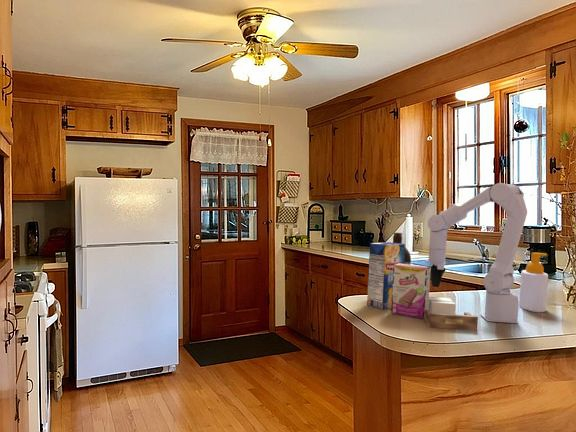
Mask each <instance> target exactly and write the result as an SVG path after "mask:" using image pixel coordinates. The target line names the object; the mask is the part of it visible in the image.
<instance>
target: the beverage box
mask: <svg viewBox="0 0 576 432" xmlns="http://www.w3.org/2000/svg"><path fill="white" fill-rule="evenodd" d="M405 245H406V244H405V243H402V244H399V243H393V242H392V241H391V242H390V241H387V242H370V243H369V255H368V256H369V258H368V274H367V275H368V277H367V300H366V305H367V306H368V307H372V308H376V309H379V310H387V309H391V305H392V288H393V270H394V265H395V264H398V263H400V264H404V252H405V248H406V246H405Z"/></svg>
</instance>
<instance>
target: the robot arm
mask: <svg viewBox="0 0 576 432" xmlns="http://www.w3.org/2000/svg"><path fill="white" fill-rule="evenodd" d="M524 194H525V193H524V192H523V191H522V189H521V188H520V187H519V186H518V185H516V184H512V183H510V184H508V183H503V182H498V183H495V184H493V185H492V186H489V187H487V188H486V189H484V190H483V191H481V192H479V194H477V195H475V196H474V197H472V198H470V199H469V200H467V201H466V202H464V203H463V204H461V203H460V204H459V203H452V204H450V206H449V208H447V209H445V210H441V211H439V214H432V215H431V216H430V217H429V218H428V219H427V227H428V229H429V231H430V232H429V245H428V246H429V247H428V259H426V260H424V262H425V263H428V264H430V266H429V265H427V267H431V273H430V283H431V286H432V287H433V288H439V287H440V285H441V280H442V279H443V275H444V273H445V272H446V268H445V265H446V264H447V261H446V257H447V256H446V254H447V239H448V231H449V229H450V228H451V227H452V226H454V225H456V224H457V223H459V222H462V221H463V220H465V219H466V218H467V216H468V213H470V212H472V211H474V210H476V209H478V208H480V207H481V206H484V205H486V204H488V203H496V204H497V205H499V206H500V207H501V208H502V210H503V211H504V212H505V213H506V214H507V217H506V220H505V224H504V227H503V230H502V235H501V238H500V241H499V245H498V248H497V252H496V255H495V260H494V262H493V263H492V264H491V266H490V267H489V270H488V272H487V274H486V275H485V276H484V277H483V281H482V282H483V286H484V288H485V303H484V304H485V305H484V306H485V307H484V313H481V314H480V316H481V317H482V318H483V319H484V320H486V322H494V323H509V324H519V321H518V320H519V307H520V305H519V301H520V300H519V297H518V294H516V293H511V288H512V287H513V286H514V283H515V279H514V271H515V270H514V267H513V266H514V265H513V264H514V261H515V258H516V253H517V251H518V250H517V249H518V246H519V243H520V240H521V236H522V232H523V229H524V226H525V224H526V218H527V217H528V209H527V206H526V202H525V198H524V197H525V196H524ZM431 265H432V266H431Z"/></svg>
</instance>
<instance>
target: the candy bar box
mask: <svg viewBox="0 0 576 432" xmlns="http://www.w3.org/2000/svg"><path fill="white" fill-rule="evenodd" d="M430 273H431V267H428V266H423V265H415V264H410V265H408V264H400V263H398V264H395V265H394V270H393V288H392V305H391V308H390V313H391V314H392V315H393V314H394V315H400V316H405V317H410V318H417V319H421V320H425V310H428V305H429V297H430V287H431V284H430V283H431V276H430Z"/></svg>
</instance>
